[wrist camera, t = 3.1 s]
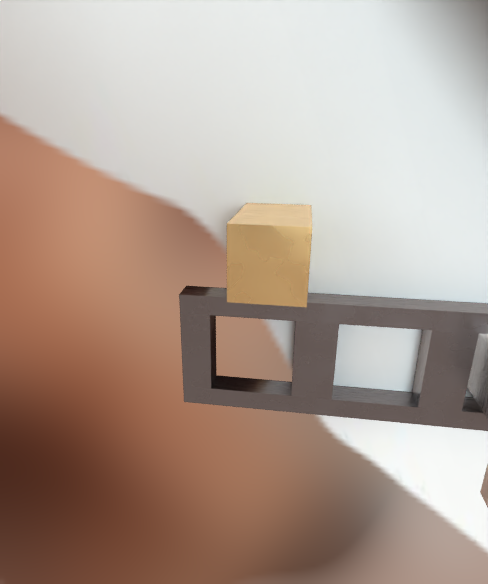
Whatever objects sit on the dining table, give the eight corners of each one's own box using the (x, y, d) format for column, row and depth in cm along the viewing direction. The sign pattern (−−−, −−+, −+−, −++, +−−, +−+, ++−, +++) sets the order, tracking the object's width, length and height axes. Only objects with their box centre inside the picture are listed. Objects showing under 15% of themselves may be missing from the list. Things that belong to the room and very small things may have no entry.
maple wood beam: (245, 264, 32) (226, 302, 25) (246, 202, 30) (226, 223, 23) (306, 267, 31) (306, 307, 24) (311, 205, 30) (312, 227, 22)
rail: (190, 388, 36) (183, 401, 35) (186, 285, 33) (179, 294, 31) (568, 422, 33) (583, 440, 31) (605, 310, 29) (625, 322, 27)
